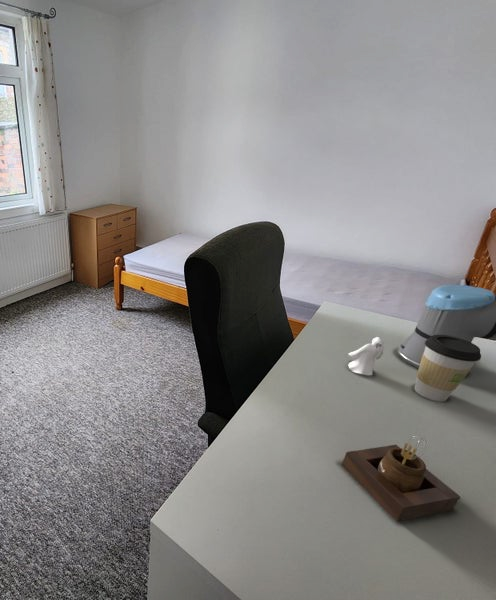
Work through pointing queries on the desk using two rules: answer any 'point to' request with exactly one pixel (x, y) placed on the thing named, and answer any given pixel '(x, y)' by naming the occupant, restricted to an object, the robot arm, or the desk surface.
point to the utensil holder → (403, 468)
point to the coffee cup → (444, 366)
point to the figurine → (366, 357)
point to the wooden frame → (396, 503)
